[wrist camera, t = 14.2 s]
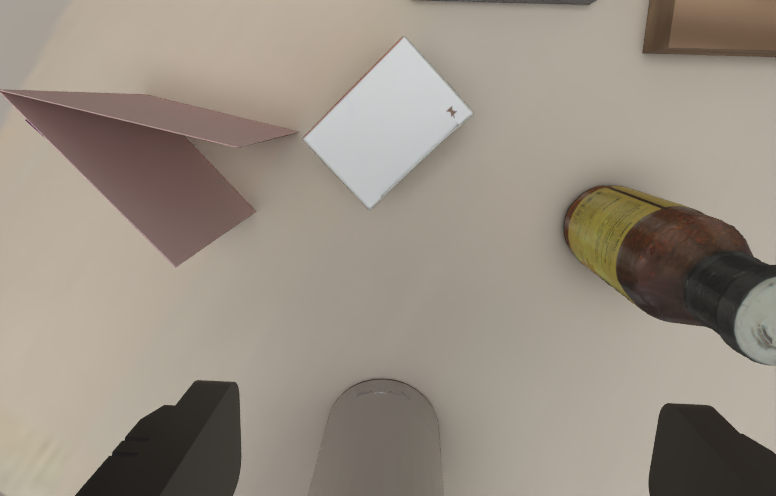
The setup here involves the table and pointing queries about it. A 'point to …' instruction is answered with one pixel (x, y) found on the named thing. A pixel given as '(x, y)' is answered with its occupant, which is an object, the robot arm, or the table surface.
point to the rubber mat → (533, 1)
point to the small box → (387, 123)
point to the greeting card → (149, 160)
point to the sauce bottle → (677, 265)
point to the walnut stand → (711, 27)
